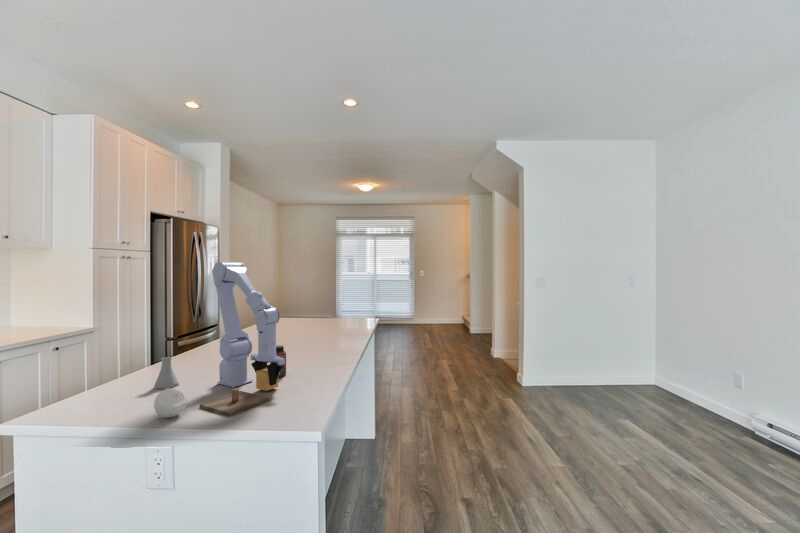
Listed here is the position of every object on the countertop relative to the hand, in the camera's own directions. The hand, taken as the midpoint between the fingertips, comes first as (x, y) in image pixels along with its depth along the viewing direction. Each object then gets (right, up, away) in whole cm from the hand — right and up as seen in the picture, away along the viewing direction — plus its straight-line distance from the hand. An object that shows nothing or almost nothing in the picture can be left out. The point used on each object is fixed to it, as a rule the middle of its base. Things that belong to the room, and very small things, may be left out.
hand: (267, 383), depth 127 cm
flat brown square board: (-5, -2, -13) cm, 14 cm away
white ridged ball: (-19, -3, -22) cm, 30 cm away
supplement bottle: (-2, -3, +17) cm, 17 cm away
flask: (-37, -3, +5) cm, 38 cm away
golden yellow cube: (0, -1, 0) cm, 1 cm away
